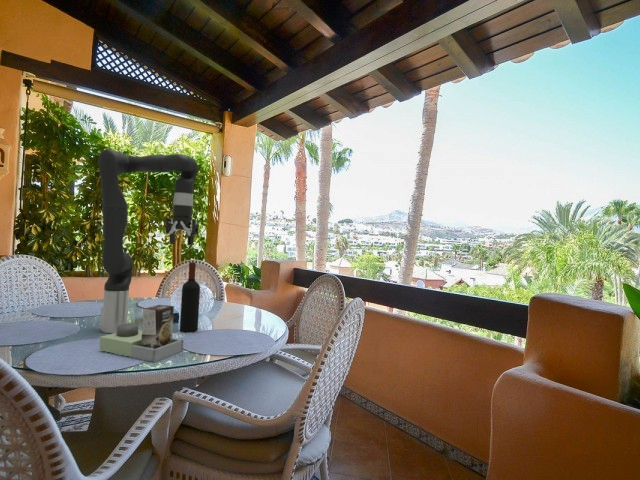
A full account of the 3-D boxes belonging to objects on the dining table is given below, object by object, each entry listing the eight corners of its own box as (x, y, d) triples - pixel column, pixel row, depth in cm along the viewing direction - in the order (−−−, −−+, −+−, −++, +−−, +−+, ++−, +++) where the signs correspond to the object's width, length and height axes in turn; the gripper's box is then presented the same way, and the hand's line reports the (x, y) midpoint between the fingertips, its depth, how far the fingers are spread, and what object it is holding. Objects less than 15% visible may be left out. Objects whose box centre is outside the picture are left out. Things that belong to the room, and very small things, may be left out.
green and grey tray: (99, 351, 132) (100, 328, 132) (131, 341, 145) (132, 320, 145) (154, 362, 124) (155, 338, 124) (182, 350, 137) (183, 329, 137)
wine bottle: (180, 333, 160) (184, 263, 160) (178, 328, 167) (182, 261, 166) (199, 332, 164) (203, 263, 163) (196, 327, 170) (199, 261, 170)
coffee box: (156, 357, 127) (158, 310, 127) (139, 355, 129) (142, 308, 129) (172, 349, 136) (174, 305, 136) (156, 347, 138) (159, 304, 138)
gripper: (203, 206, 154) (201, 245, 154) (175, 205, 158) (172, 243, 158) (192, 204, 146) (189, 245, 147) (162, 203, 151) (160, 243, 151)
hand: (181, 244), depth 152 cm, fingers open, 8 cm apart
